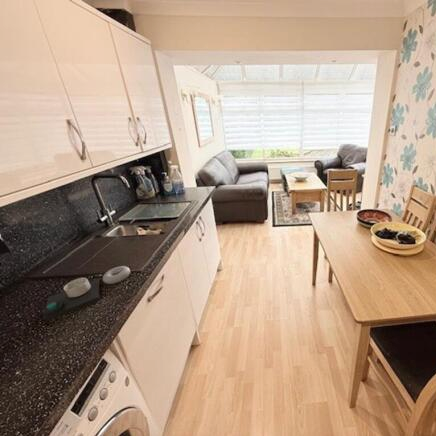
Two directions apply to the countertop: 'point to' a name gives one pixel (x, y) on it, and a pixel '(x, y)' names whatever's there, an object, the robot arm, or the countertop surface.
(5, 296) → the countertop surface
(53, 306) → the tare button
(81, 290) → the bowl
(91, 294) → the scale
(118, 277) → the donut
